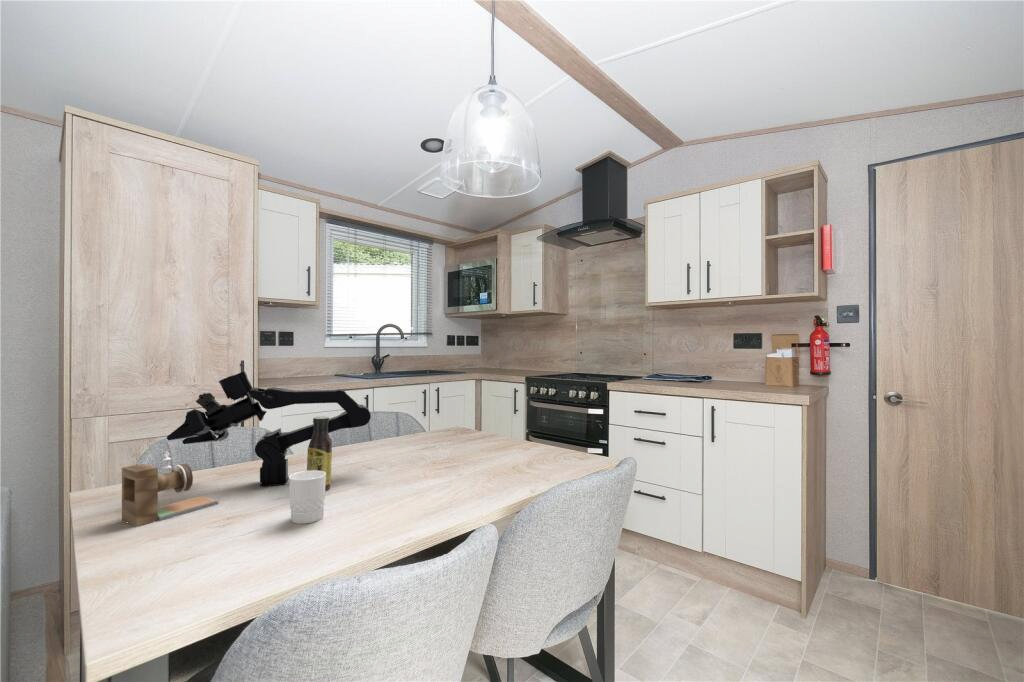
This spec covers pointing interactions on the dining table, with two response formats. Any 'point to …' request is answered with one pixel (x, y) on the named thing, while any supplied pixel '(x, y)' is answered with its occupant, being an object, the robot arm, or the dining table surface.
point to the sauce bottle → (320, 449)
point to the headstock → (139, 494)
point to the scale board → (184, 507)
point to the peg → (176, 479)
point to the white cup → (307, 496)
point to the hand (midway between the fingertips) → (175, 440)
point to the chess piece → (166, 462)
